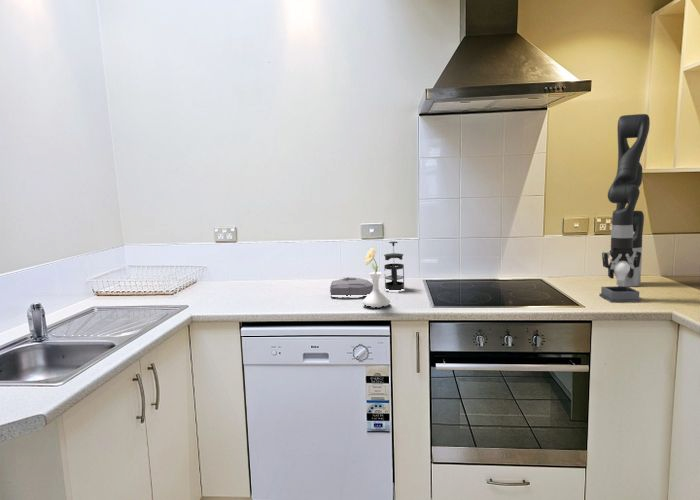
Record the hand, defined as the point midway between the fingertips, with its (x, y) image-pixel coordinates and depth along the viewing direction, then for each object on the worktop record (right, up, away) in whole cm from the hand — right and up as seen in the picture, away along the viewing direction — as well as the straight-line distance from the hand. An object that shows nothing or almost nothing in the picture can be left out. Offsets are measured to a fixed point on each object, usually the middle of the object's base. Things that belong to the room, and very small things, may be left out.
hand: (620, 277), depth 187 cm
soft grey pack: (-106, -10, +27) cm, 110 cm away
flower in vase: (-97, -12, +5) cm, 98 cm away
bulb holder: (0, -8, +1) cm, 9 cm away
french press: (-86, -8, +34) cm, 93 cm away
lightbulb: (0, -4, 0) cm, 4 cm away
